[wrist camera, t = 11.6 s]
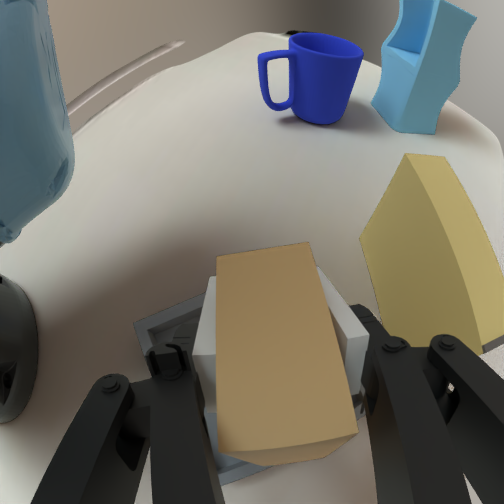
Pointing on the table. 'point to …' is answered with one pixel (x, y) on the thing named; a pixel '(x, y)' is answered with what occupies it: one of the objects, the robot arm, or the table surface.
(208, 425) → the tray
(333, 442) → the stub
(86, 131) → the table surface
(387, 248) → the grey-ended yellow block
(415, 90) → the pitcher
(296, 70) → the mug
